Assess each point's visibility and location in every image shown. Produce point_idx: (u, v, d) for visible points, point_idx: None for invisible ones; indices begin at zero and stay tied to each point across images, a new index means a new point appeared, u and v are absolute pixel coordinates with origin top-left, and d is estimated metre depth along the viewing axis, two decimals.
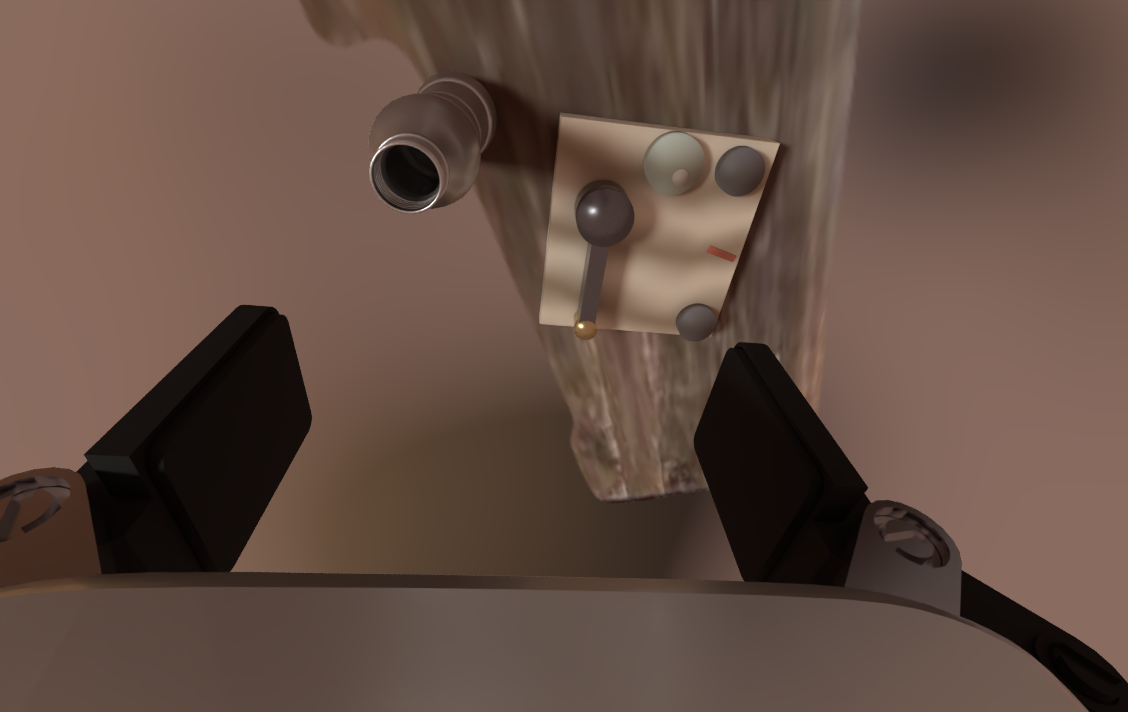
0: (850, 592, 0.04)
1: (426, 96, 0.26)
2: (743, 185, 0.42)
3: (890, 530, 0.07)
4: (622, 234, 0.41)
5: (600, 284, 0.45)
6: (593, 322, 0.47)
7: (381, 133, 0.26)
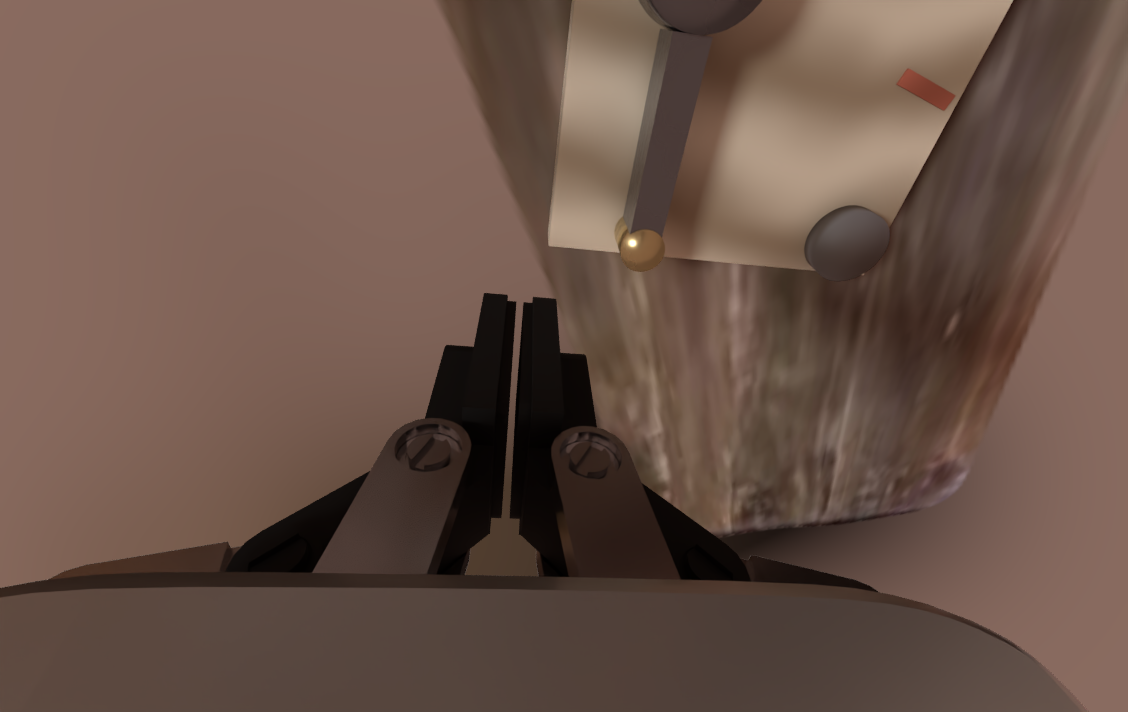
0: (850, 592, 0.04)
1: None
2: None
3: (576, 460, 0.07)
4: None
5: (682, 141, 0.21)
6: (659, 233, 0.23)
7: None
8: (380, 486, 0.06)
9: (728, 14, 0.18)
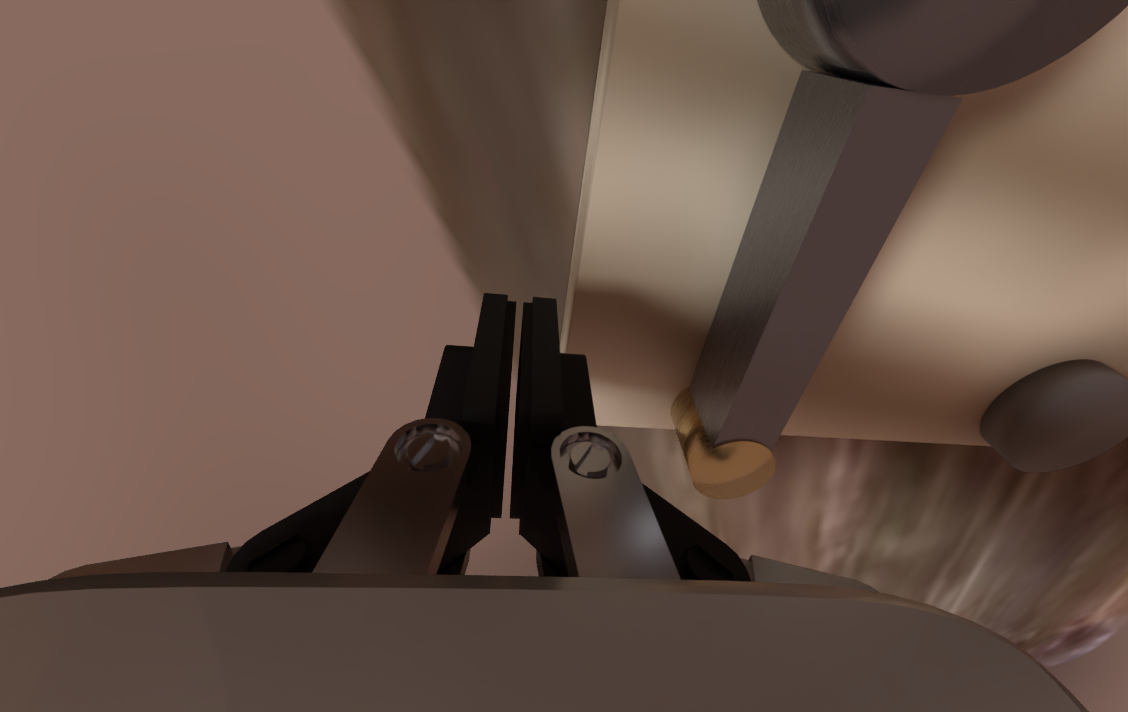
0: (850, 592, 0.04)
1: None
2: None
3: (576, 460, 0.07)
4: (1092, 5, 0.07)
5: (843, 304, 0.10)
6: (767, 446, 0.12)
7: None
8: (380, 486, 0.06)
9: (1026, 46, 0.07)
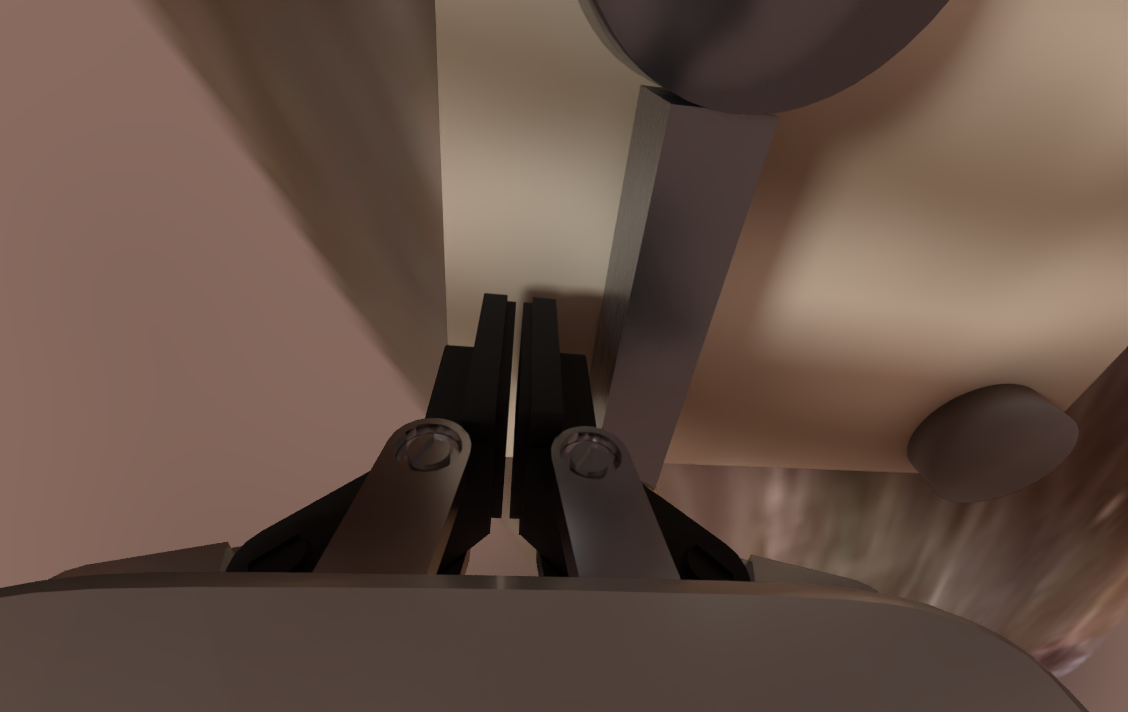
0: (850, 592, 0.04)
1: None
2: None
3: (576, 460, 0.07)
4: (897, 13, 0.06)
5: (696, 339, 0.09)
6: (648, 485, 0.11)
7: None
8: (380, 486, 0.06)
9: (831, 59, 0.06)
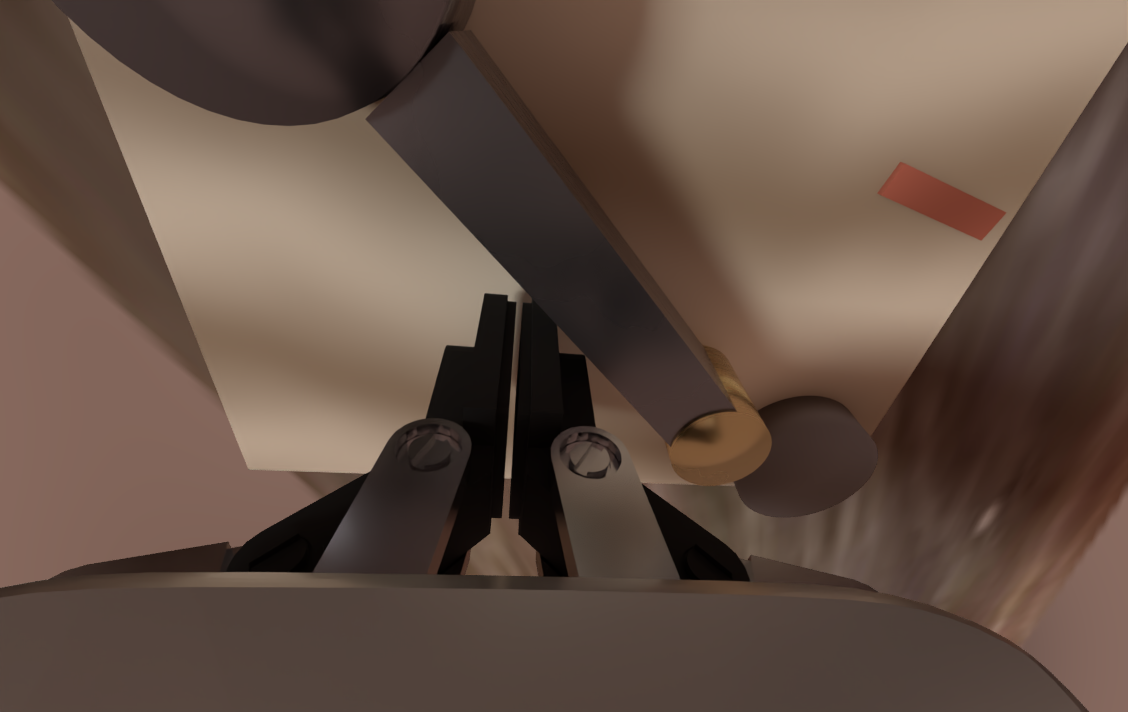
0: (850, 592, 0.04)
1: None
2: None
3: (575, 460, 0.07)
4: None
5: (611, 261, 0.08)
6: (724, 410, 0.10)
7: None
8: (380, 486, 0.06)
9: None
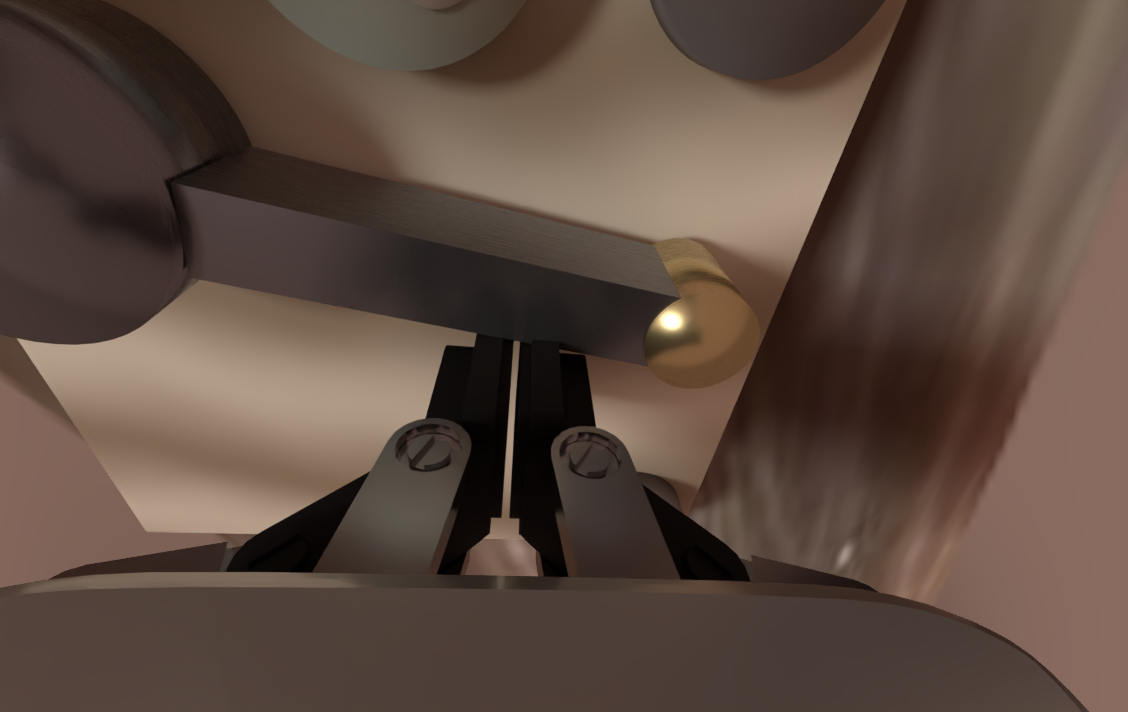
0: (850, 592, 0.04)
1: None
2: (796, 11, 0.08)
3: (575, 460, 0.07)
4: (26, 90, 0.06)
5: (432, 250, 0.08)
6: (666, 304, 0.09)
7: None
8: (380, 486, 0.06)
9: (90, 154, 0.06)
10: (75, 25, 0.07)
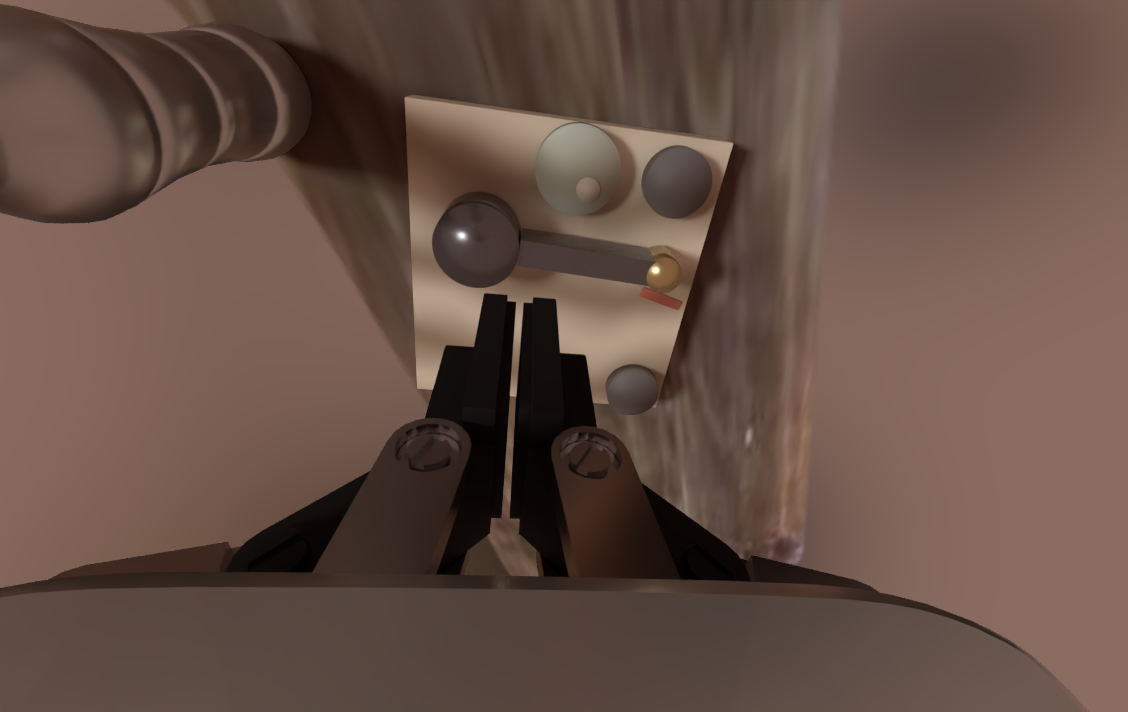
0: (850, 592, 0.04)
1: None
2: (682, 202, 0.29)
3: (576, 460, 0.07)
4: (499, 222, 0.27)
5: (584, 253, 0.28)
6: (651, 264, 0.29)
7: None
8: (380, 486, 0.06)
9: (507, 235, 0.27)
10: (497, 204, 0.28)
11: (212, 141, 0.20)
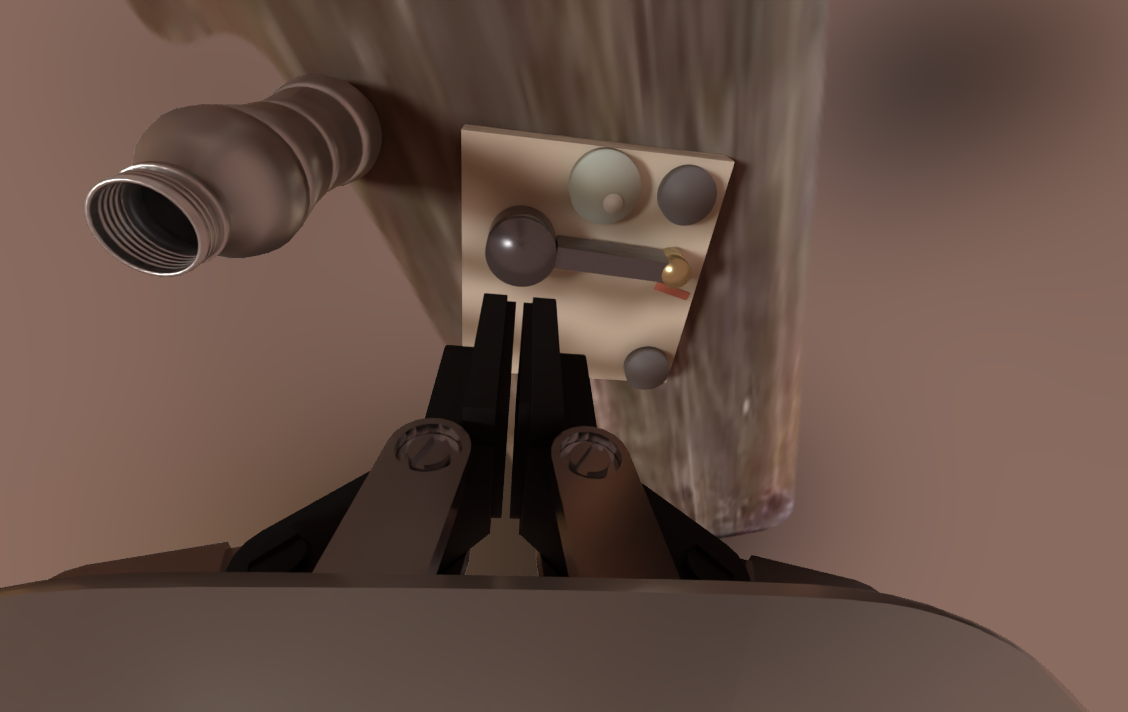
0: (850, 592, 0.04)
1: (207, 108, 0.19)
2: (691, 212, 0.34)
3: (576, 460, 0.07)
4: (541, 233, 0.32)
5: (610, 256, 0.34)
6: (666, 265, 0.34)
7: (136, 161, 0.18)
8: (379, 486, 0.06)
9: (548, 243, 0.33)
10: (537, 217, 0.33)
11: (328, 183, 0.25)
